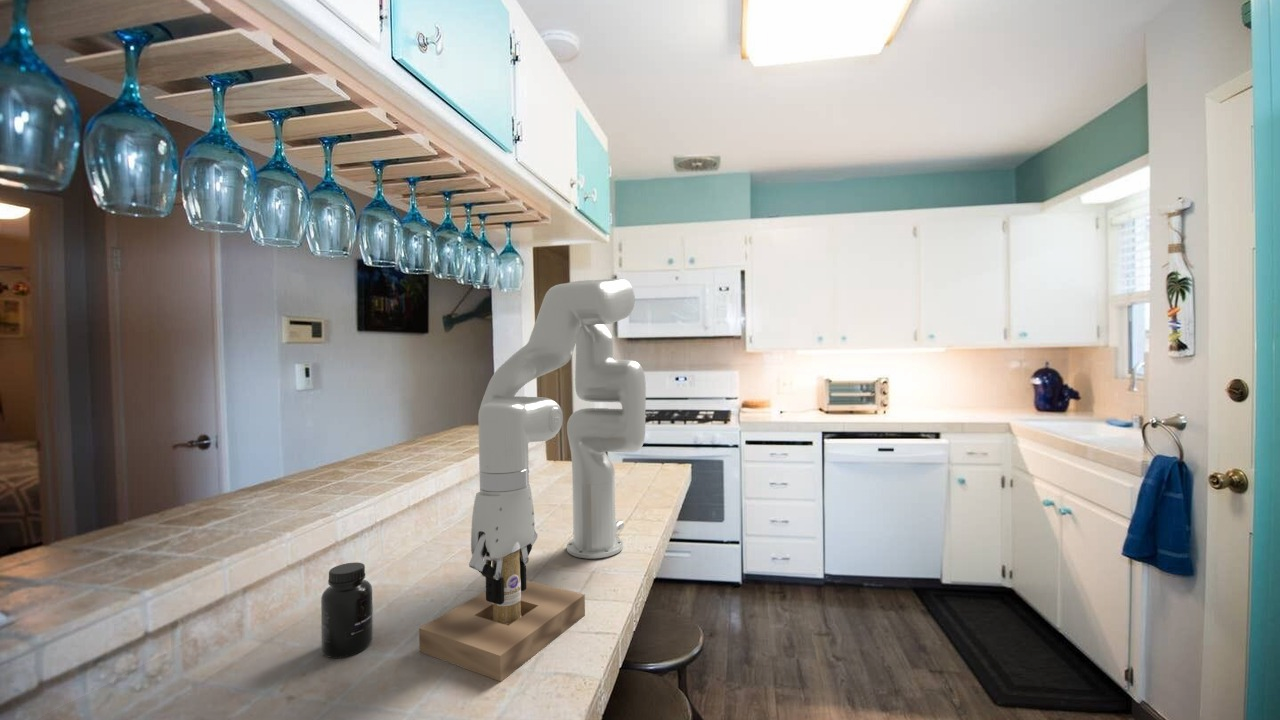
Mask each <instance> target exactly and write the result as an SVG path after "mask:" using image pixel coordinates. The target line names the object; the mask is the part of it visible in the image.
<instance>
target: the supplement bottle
mask: <svg viewBox="0 0 1280 720" xmlns="http://www.w3.org/2000/svg"><path fill="white" fill-rule="evenodd" d="M365 568H366V567H365V564H364V563H362V562H347V563H341V564H339V565H336V566H334V567H331V569H329V571H328V580H327V584H328V585H329V586H328V587H326V588H325V590H324V591H323V593H322V594H321V599H320V600H321V601H320V610H321V611H320V612H321V617H320V618H321V619H320V620H321V622H320V623H321V627H320V628H321V631H320V633H321V651H322V654H323V655H324V656H326V657H328V658H332V659H339V658H346V657H351V656H353V655H356V654H358V653H360V652H362V651H364V650H365V649H367V648H368V647H369V646H370V645H371V643H372V642H373V634H374V633H373V632H374V631H373V630H374V629H373V626H374V625H373V623H374V621H373V619H374V617H373V614H374V613H373V585H372V584H371V582H369V581H368V580H366V579H365V578H366V570H365Z"/></svg>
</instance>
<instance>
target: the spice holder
mask: <svg viewBox="0 0 1280 720" xmlns="http://www.w3.org/2000/svg"><path fill="white" fill-rule="evenodd" d="M585 595H586V594H584V593H580V592H576V591H573V590H572V591H571V590H567V589H564V588H560V587H556V586H552V585H547V584H543V583H539V582H535V581H531V580H527V579H526V590H524V591H521V602H520V604H521V618H519V619H518V620H516V621H515V622H513V623H512V624H510V625H509V626H508V625H505V624H501V623H498V622H495V621H493V603H492V602H488V601H487V600H486V590H485V591H484V592H482V593H480V594H478V595H476V596H475V597H473V598H471V599H469V600H467V601H466V602H464V603H462V604H460V605H459V606H456V607H455V608H452V609H450V610H449V611H448V612H446V613H444V614H442V615H440V616H438V617H437V618H435V619H433V620H432V621H429V622H427V623H426V624H423V625H422V626H420V627H419V628H418V632H419V635H418V637H419V652H420V653H422V652H423V654H425V653H426V654H425V655H427V656H431V657H433V658H436V659H438V658H439V660H442V661H445V662H446V663H449V664H452V665H455V666H457V667H460V668H463V669H465V670H468V671H471V672H474V673H476V674H479V675H482V676H484V677H487V678H490V679H493V680H494V681H498V682H502V681H504V680H506V678H507V677H508V676H510V675H511V674H512V673H513V672H515V671H516V670H518V669H519V668H520V667H522V666H523V665H524V664H525V663H526V662H528V661H529V660H531V658H533V657H534V656H535V655H536V654H538V653H539V652H540V651H541V650H543V649H545V647H547V646H548V645H549V644H551V643H552V642H553V641H555V640H556V639H557V638H558V637H559V636H561V635H562V634H563V633H565V632H566V631H567V630H569V628H571V627H572V626H573V625H574V624H576V623H577V622H578V621H580V620H581V619H582V618H584V617H585V616H586V600H585V599H586V597H585Z"/></svg>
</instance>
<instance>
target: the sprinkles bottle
mask: <svg viewBox="0 0 1280 720" xmlns="http://www.w3.org/2000/svg"><path fill="white" fill-rule="evenodd" d="M519 551H520V545H519V543H518V542H516V543H515V545H514V547H513V549H512V552H511V554H509V555H507V556H505V557H503V562H502V569H501V576H500V577H502V578H503V579H504V603H502V604H501V605H499V604H496V603H493V621H495V622H498V623H501V624H505V625H508V626H509V625H510V624H512V623H513V622H515V621H516V620H518V619H519V618H521V604H520V602H521V579H520V552H519ZM494 563H495V562H494V561H491V566H492V567H493V568H494Z"/></svg>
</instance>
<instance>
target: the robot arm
mask: <svg viewBox="0 0 1280 720" xmlns="http://www.w3.org/2000/svg"><path fill="white" fill-rule="evenodd" d="M635 301H636V298H635V292H634V288H633V286H632V284H631V283H630V282H629V281H628V280H627V279H625V278H607V279H606V278H605V279H586V280H585V279H584V280H576V281H570V282H566V283H559V284H556V285H554V286H552V287H550V288H549V289H548V290H547V291H546V293H545V295H544V297H543V300H542V303H541V305H540V309H539V311H538V314H537V316H536V317H537V318H536V320H535V322H534V325H533V327H532V331H531V334H530V337H529V339H528V342H527V343H526V344H524V346H523V347H521V348H520V349H518V350H517V351H515V352H514V353H513V354H512V355H511V356H510V357H509V358H508V359H507V360H505V362H504V363H502V364H501V365H500V367H498V368H497V369H496V371H495V372H494V373H493V375H492V377H491V378H490V380H489V382H488V384H487V387H486V389H485V392H484V394H483V398H482V401H481V403H480V407H479V409H478V418H477V419H478V464H479V465H478V467H479V468H478V470H479V474H478V476H479V492H476V494H475V497H474V503H473V508H472V517H471V528H470V529H471V530H470V531H471V532H470V536H471V537H470V550H471V552H470V553H471V558H470V560H469V563H468V566H469V568H471V569H473V570H475V571H477V572H479V573H480V574H481V576H482V577H484V578H485V591H486V600H487V601H488V602H492V603H496V604H499V605H501V604H502V603H504V579H503V578H502V577H500V576H501V569H502V562H503V557H505V556H507V555H509V554H511V552H512V549H513V547H514V545H515V543H516V542H518V543H519V545H520V551H519V552H520V579H521V591H524V590H526V580H527V565H528V563H529V560H530V559H529V556H530V553H531V551H532V549H533V546H534V545H535V543H536V541H537V539H538V534H537V531H536V529H535V528H536V527H535V512H534V511H535V510H534V501H533V495H532V489H531V486H530V479H529V478H530V475H529V473H530V469H529V468H530V467H529V443H534V442H535V443H536V442H546V441H549V440H552V439H553V438H554V437H555V436H556V435H558V434H559V432H560V430H561V428H562V425H563V423H564V414H563V410H562V407H561V406H560V405H559V404H558V402H556V401H555V400H553V399H551V398H549V397H542V396H516V394H517V393H518V392H519V391H520V390H521V389H522V388H523V387H524V386H526V385H527V384H528V383H529V382H531V381H533V380H536V379H537V378H540V377H541V376H544V375H546V374H549V373H552V372H553V371H555V370H557V369H560V368H562V367H564V366H565V365H567V364H568V363H569V362H570V361H571V359H572V358H573V357H572V356H573V354H574V349H575V365H574V366H575V369H574V370H575V371H574V373H575V374H574V375H575V377H574V384H575V392H576V395H577V397H578V399H580V400H582V401H584V402H589V403H620V404H621V408H606V407H603V408H602V407H600V408H599V407H595V408H594V407H588V408H587V407H586V408H580V409H578V410H575V411H574V412H573V413H572V414H571V415H570V416H569V417H568V419H567V423H566V433H567V439H568V444H569V449H570V450H569V451H570V456H571V469H572V470H571V471H572V475H571V476H572V477H571V478H572V518H573V519H572V527H573V530H572V531H573V534H572V535H573V538H572V539H571V540H569V541H568V542H567V544H566V551H567V553H568V554H569V555H570V556H573V557H575V558H580V559H587V560H588V559H589V560H592V559H593V560H595V559H603V558H608V557H613V556H615V555H617V554H618V553H620V552H622V550H623V548H624V542H623V540H622V539H621V538H620V537H618V536H617V533H618V531H620V530H621V529H623V528H624V526H625V525H624V522H623V521H622V520H617V519H616V481H615V480H616V472H615V468H614V464H613V462H612V461H611V459H610V458H609V456H608V454H607V452H610V453H635V452H638V451H640V450H641V449H642V447H643V445H644V443H645V437H646V409H647V408H646V403H647V402H646V397H647V395H646V394H647V393H646V391H647V387H646V375H645V372H644V369H643V367H642V365H641V364H640V363H639V362H638V361H636V360H632V359H614V339H613V335H612V333H611V332H610V330H609V329H608V327H607V326H606V325H611V324H613V323H615V322H616V323H617V322H619V321H621V320H623V319H626V318H627V317H628V316H630V315H631V313H632V311H633V310H634V306H635ZM616 520H617V521H616ZM492 561H494V562H495V563H494V568H493V567H492Z"/></svg>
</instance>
